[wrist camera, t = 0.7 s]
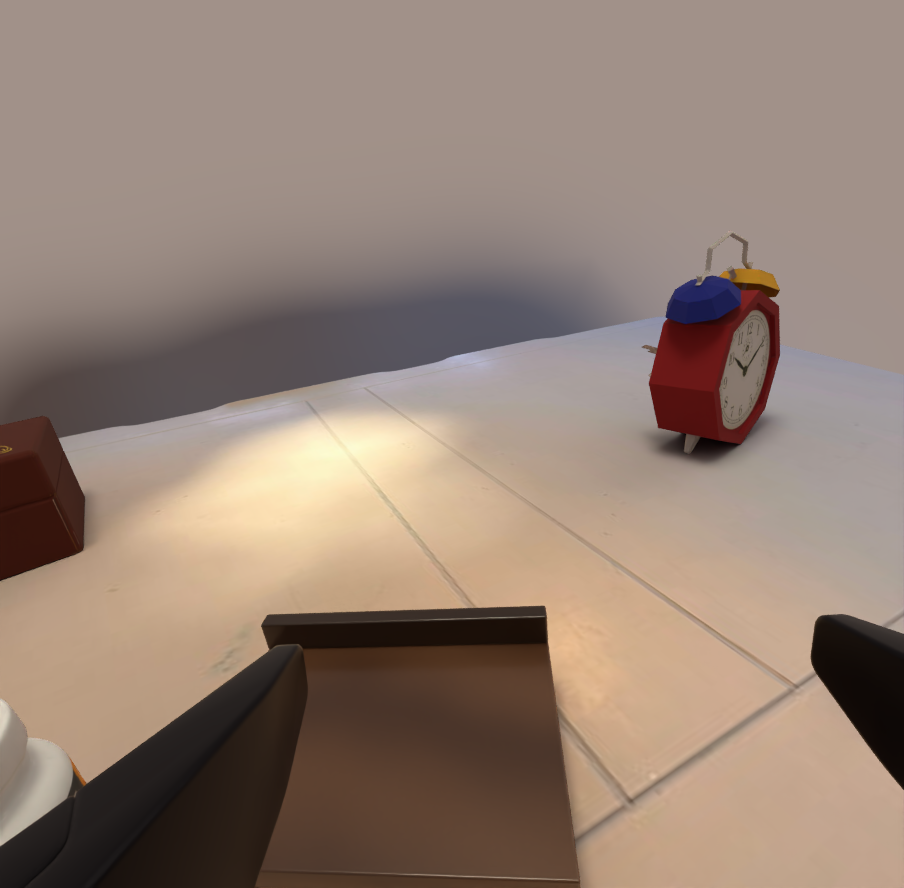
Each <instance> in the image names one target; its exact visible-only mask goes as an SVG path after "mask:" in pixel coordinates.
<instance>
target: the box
mask: <svg viewBox="0 0 904 888" xmlns="http://www.w3.org/2000/svg"><path fill="white" fill-rule="evenodd" d="M84 502H85V497H84V495H83V492H82V490H81V488H80V486H79V484H78V481H77V479H76V477H75V475H74V473H73V470H72V468H71V466H70V464H69V462H68V459H67V457H66V455H65V453H64V451H63V448H62V446H61V444H60V442H59V439H58V437H57V435H56V433H55V431H54V428H53V426H52V424H51V422H50V420H49V418H47V417H45V416H40V417H36V418H32V419H27V420H22V421H18V422H13V423H9V424H5V425H0V580H2V579H5V578H7V577H10V576H13V575H16V574H19V573H22V572H25V571H27V570H30V569H33V568H36V567H39V566H42V565H45V564H47V563H50V562H53V561H56V560H59V559H62V558H65V557H67V556H70V555H73V554H76V553H78V552H80V551H81V550H82V549H83V535H84Z"/></svg>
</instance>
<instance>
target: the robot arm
mask: <svg viewBox="0 0 904 888" xmlns="http://www.w3.org/2000/svg"><path fill="white" fill-rule="evenodd" d="M811 662H812V666H813V668H814V670H815V672H816V674H817V675H818V677H819V678H820V679H821V681H822V682H823V684H824V685H825V686H826V688H827V689H828V690H829V692H830V693H831V695H832V696H833V697H834V699H835V700H836V702H837V703H838V704H839V706H840V707H841V709H842V710H843V711H844V713H845V714H846V716H847V717H848V718H849V720H850V721H851V723H852V724H853V725H854V727H855V728H856V729H857V731H858V732H859V734H860V735H861V736H862V738H863V739H864V741H865V742H866V743H867V745H868V746H869V747H870V749H871V750H872V751H873V753H874V754H875V755H876V757H877V758H878V759H879V761H880V762H881V763H882V764H883V766H884V767H885V768H886V769H887V771H888V772H889V773H890V774H891V776H892V777H893V778H894V779H895V780H896V782H897V783H898V784H899V785H900V786H901V788H902V789H903V790H904V634H902V633H899V632H896V631H893V630H891V629H888V628H885V627H882V626H879V625H876V624H873V623H870V622H867V621H864V620H861V619H858V618H855V617H852V616H849V615H844V614H837V615H822V616H820V617H818V619H817V620H816V622H815V627H814V634H813V642H812V650H811ZM307 696H308V682H307V675H306V667H305V660H304V653H303V649H302V647H301V646H300V645H299V644H290V645H278V646H275V647H274V648H272V649H271V650H270V651H268V652H267V653H266V654H264V655H263V656H261V657H260V658H259V659H257V660H256V661H255V662H253V663H252V664H251V665H249V666H248V667H246V668H245V669H244V670H242V671H241V672H240V673H238V674H237V675H235V676H234V677H233V678H231V679H230V680H229V681H227V682H226V683H224V684H223V685H222V686H220V687H219V688H218V689H216V690H215V691H214V692H212V693H211V694H209V695H208V696H207V697H205V698H204V699H203V700H201V701H200V702H198V703H197V704H196V705H194V706H193V707H192V708H190V709H189V710H188V711H186V712H185V713H183V714H182V715H181V716H179V717H178V718H177V719H175V720H174V721H172V722H171V723H170V724H168V725H167V726H166V727H164V728H163V729H161V730H160V731H159V732H157V733H156V734H155V735H153V736H152V737H151V738H149V739H148V740H146V741H145V742H144V743H142V744H141V745H140V746H138V747H137V748H135V749H134V750H133V751H131V752H130V753H129V754H127V755H126V756H124V757H123V758H122V759H120V760H119V761H118V762H116V763H115V764H113V765H112V766H111V767H109V768H108V769H107V770H105V771H104V772H102V773H101V774H100V775H98V776H97V777H96V778H94V779H93V780H92V781H90V782H89V783H87V784H86V785H85V786H83V787H82V788H81V789H79V790H78V791H77V792H76V795H75V797H74V796H69V797H68V798H67V799H65V800H64V801H63V802H61V803H60V804H59V805H57V806H56V807H54V808H53V809H52V810H50V811H49V812H48V813H46V814H45V815H43V816H42V817H41V818H39V819H38V820H37V821H35V822H34V823H32V824H31V825H29V826H28V827H27V828H25V829H24V830H22V831H21V832H20V833H18V834H17V835H15V836H14V837H13V838H11V839H10V840H8V841H7V842H5V843H4V844H3V845H1V846H0V888H255V885H256V882H257V879H258V876H259V873H260V870H261V867H262V864H263V861H264V858H265V855H266V852H267V849H268V846H269V843H270V840H271V837H272V834H273V831H274V828H275V825H276V822H277V819H278V816H279V813H280V810H281V807H282V803H283V800H284V797H285V794H286V790H287V786H288V782H289V778H290V773H291V769H292V764H293V760H294V755H295V751H296V747H297V742H298V738H299V733H300V729H301V724H302V720H303V716H304V711H305V707H306V702H307Z"/></svg>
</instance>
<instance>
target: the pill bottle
mask: <svg viewBox="0 0 904 888" xmlns="http://www.w3.org/2000/svg"><path fill="white" fill-rule="evenodd" d="M85 785H86V782H85V781H84V779H83V778H82V776H81V775H80V773H79V771H78V770H77V768H76V766H75V765H74V763H73V762H72V760H71V759H70V757H69V756H68V755H67V754H66V752H65V751H64V750H63V749H62V748H60V747H59V746H58V745H56V744H54V743H52V742H50V741H47V740H44V739H39V738H28V736H27V730H26V727H25V726H24V724H23V723H22V721H21V720H20V718H19V717H18V715H17V714H16V713H15V712H14V710H13V709H12V708H11V706H10V705H9V704H8V703H7V702H6V701H4V700H2V699H0V846H1V845H3V844H4V843H5V842H7V841H8V840H10V839H11V838H13V837H14V836H15V835H17V834H18V833H20V832H21V831H22V830H24V829H25V828H27V827H28V826H29V825H31V824H32V823H34V822H35V821H37V820H38V819H39V818H41V817H42V816H43V815H45V814H46V813H48V812H49V811H50V810H52V809H53V808H54V807H56V806H57V805H59V804H60V803H61V802H63V801H64V800H65V799H67V798H68V797H69V796H74V797H75V795H76V792H77V791H78V790H79V789H81V788H82V787H83V786H85Z"/></svg>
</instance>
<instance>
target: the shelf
mask: <svg viewBox="0 0 904 888" xmlns="http://www.w3.org/2000/svg"><path fill="white" fill-rule="evenodd" d="M261 627H262V630H263V633H264V636H265V639H266V642H267V645H268V648H269V651H270V650H271V649H272V648H274V647H275V646H278V645H290V644H299V645H300V646H301V647H302V649H303V653H304V660H305V667H306V675H307V682H308V696H307V702H306V707H305V711H304V716H303V720H302V724H301V729H300V733H299V738H298V742H297V747H296V751H295V755H294V760H293V764H292V769H291V773H290V778H289V782H288V786H287V790H286V794H285V797H284V800H283V803H282V807H281V810H280V813H279V816H278V819H277V822H276V825H275V828H274V831H273V834H272V837H271V840H270V843H269V846H268V849H267V852H266V855H265V858H264V861H263V864H262V867H261V870H260V873H259V876H258V879H257V882H256V885H255V887H256V888H580V876H579V869H578V862H577V854H576V847H575V839H574V832H573V824H572V817H571V810H570V802H569V795H568V787H567V780H566V773H565V765H564V758H563V750H562V743H561V735H560V728H559V721H558V713H557V706H556V698H555V691H554V683H553V676H552V669H551V661H550V654H549V646H548V631H547V615H546V608H545V606H522V607H490V608H459V609H428V610H396V611H365V612H334V613H302V614H271V615H267V616H266V618H265V620H264V621H263V623H262V625H261Z"/></svg>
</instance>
